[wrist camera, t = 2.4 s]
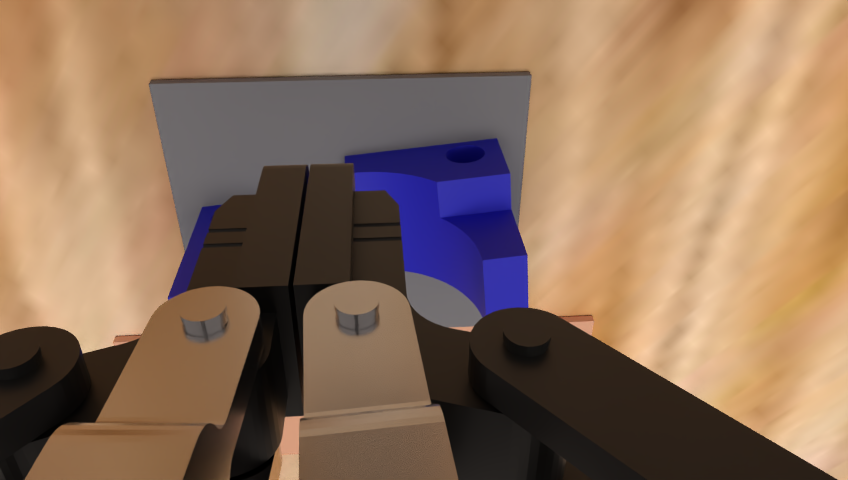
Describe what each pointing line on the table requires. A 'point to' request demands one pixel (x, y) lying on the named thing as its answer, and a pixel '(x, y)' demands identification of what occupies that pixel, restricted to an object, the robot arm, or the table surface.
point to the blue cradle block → (437, 219)
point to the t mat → (334, 146)
